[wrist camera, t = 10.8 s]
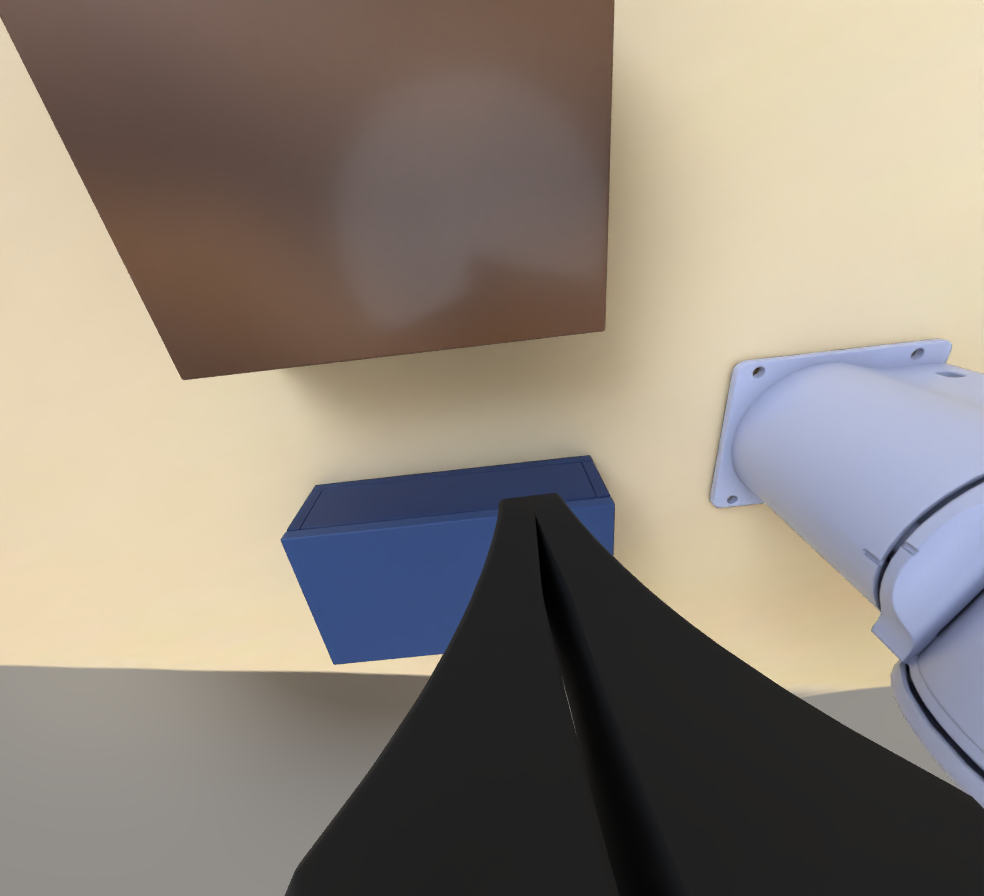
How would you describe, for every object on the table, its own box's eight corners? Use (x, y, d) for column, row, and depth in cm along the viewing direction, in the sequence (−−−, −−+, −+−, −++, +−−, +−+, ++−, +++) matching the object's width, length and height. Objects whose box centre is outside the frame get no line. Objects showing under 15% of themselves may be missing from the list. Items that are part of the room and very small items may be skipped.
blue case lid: (608, 627, 21) (611, 637, 20) (337, 654, 21) (333, 665, 21) (611, 495, 17) (615, 504, 17) (285, 530, 18) (279, 540, 17)
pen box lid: (-22, -76, 9) (-60, -99, 8) (610, -168, 8) (620, -198, 8) (194, 374, 14) (181, 381, 13) (599, 326, 13) (606, 331, 13)
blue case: (589, 566, 24) (606, 617, 21) (354, 590, 24) (336, 644, 21) (590, 454, 21) (610, 495, 17) (314, 484, 21) (285, 530, 18)
